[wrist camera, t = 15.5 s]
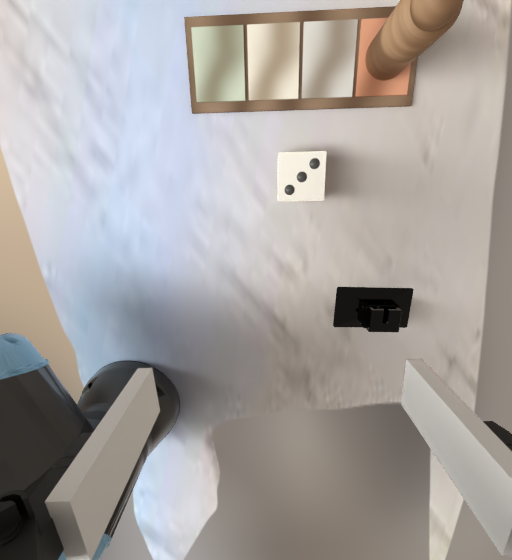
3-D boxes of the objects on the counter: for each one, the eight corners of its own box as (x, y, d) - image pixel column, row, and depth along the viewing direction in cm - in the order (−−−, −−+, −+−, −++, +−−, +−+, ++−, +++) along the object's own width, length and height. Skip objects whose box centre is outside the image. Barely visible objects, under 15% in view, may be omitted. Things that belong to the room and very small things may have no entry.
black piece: (423, 282, 39) (444, 294, 34) (413, 332, 41) (432, 349, 37) (327, 280, 39) (335, 292, 35) (323, 330, 42) (330, 347, 37)
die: (277, 199, 36) (278, 201, 31) (277, 157, 34) (278, 152, 30) (316, 199, 36) (324, 200, 31) (318, 156, 34) (326, 151, 29)
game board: (192, 113, 33) (191, 112, 33) (185, 19, 30) (183, 16, 30) (409, 106, 32) (412, 104, 31) (422, 7, 29) (425, 3, 29)
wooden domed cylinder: (363, 81, 31) (414, 23, 20) (367, 32, 29) (424, -58, 19) (404, 80, 31) (477, 21, 20) (410, 30, 29) (492, -61, 19)
